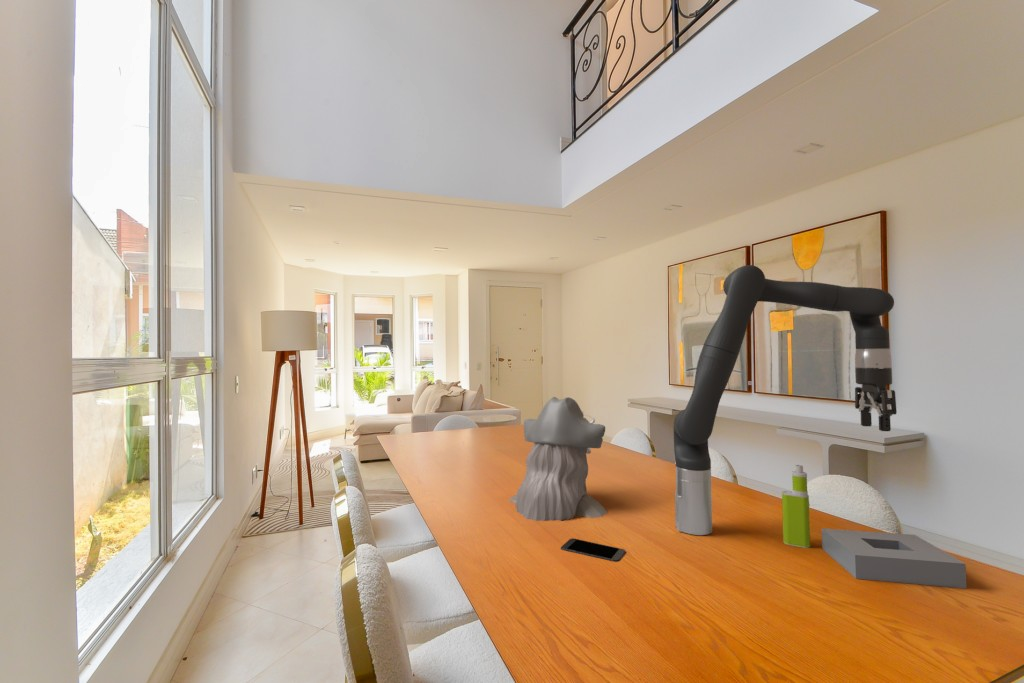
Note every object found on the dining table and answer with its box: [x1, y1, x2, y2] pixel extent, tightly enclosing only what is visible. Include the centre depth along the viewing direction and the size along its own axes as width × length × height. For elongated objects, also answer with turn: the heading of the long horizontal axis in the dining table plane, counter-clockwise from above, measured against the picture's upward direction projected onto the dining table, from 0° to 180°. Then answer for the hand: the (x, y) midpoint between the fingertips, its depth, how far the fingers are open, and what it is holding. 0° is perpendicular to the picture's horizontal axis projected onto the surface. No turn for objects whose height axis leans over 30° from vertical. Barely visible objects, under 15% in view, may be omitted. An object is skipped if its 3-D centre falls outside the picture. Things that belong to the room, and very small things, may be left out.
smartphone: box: [560, 537, 627, 563], centre depth 113 cm, size 7×15×1 cm, turn 60°
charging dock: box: [821, 528, 967, 589], centre depth 103 cm, size 20×16×5 cm
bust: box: [508, 396, 608, 522], centre depth 150 cm, size 34×34×35 cm
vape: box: [781, 464, 811, 549], centre depth 117 cm, size 4×6×20 cm, turn 59°
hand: (875, 428), depth 118 cm, fingers open, 8 cm apart
